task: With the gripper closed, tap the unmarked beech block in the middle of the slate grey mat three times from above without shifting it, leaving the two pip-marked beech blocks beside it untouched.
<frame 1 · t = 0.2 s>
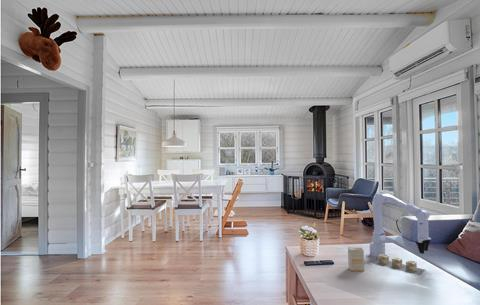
hand: (423, 251, 178), 10 cm above the table, fingers open, 7 cm apart
two pip block: (383, 262, 185), point 1 cm above the table, touching slate mat
supplement box: (356, 270, 176), on the table
slate mat: (397, 266, 180), on the table
three pip block: (411, 269, 174), point 1 cm above the table, touching slate mat
plain block: (397, 266, 180), point 1 cm above the table, touching slate mat
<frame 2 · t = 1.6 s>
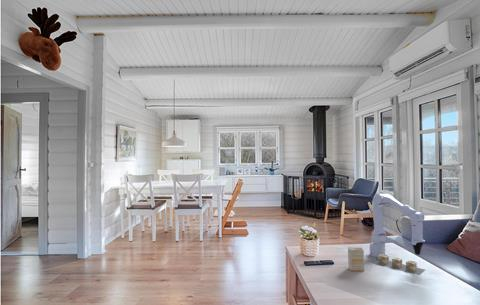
hand: (417, 254, 175), 9 cm above the table, fingers closed
nothing on the table moved.
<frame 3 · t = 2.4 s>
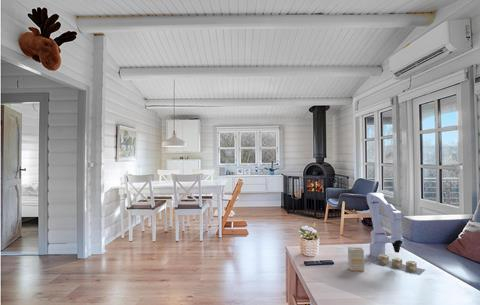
hand: (396, 252, 180), 9 cm above the table, fingers closed
nothing on the table moved.
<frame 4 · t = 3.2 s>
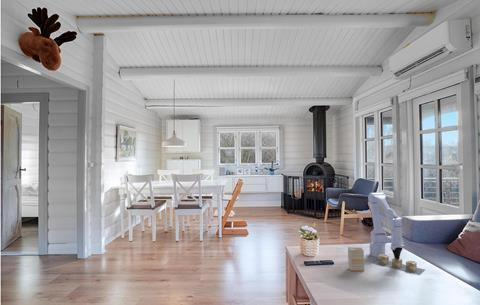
hand: (397, 258, 180), 5 cm above the table, fingers closed, pressing on plain block
plain block: (397, 266, 180), point 1 cm above the table, touching gripper, slate mat
everything else where it was.
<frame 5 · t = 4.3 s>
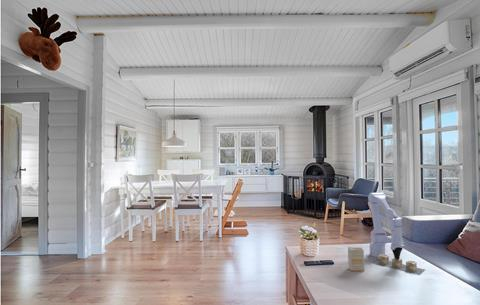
hand: (397, 258, 180), 5 cm above the table, fingers closed, pressing on plain block
plain block: (397, 266, 180), point 1 cm above the table, touching gripper, slate mat
everything else where it was.
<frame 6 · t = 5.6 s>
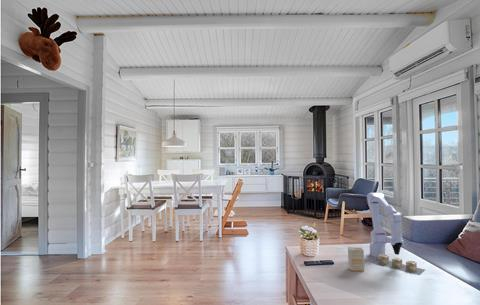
hand: (396, 254, 180), 8 cm above the table, fingers closed
plain block: (397, 266, 180), point 1 cm above the table, touching slate mat
everything else where it was.
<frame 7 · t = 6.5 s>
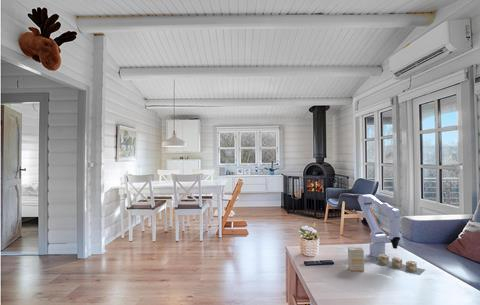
hand: (395, 248, 187), 9 cm above the table, fingers closed
nothing on the table moved.
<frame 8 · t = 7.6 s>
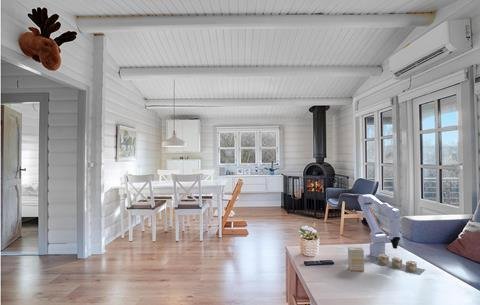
hand: (395, 248, 187), 9 cm above the table, fingers closed
nothing on the table moved.
at the end: plain block moved 0.0 cm from its start; plain block tilted 0°; three pip block moved 0.0 cm from its start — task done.
